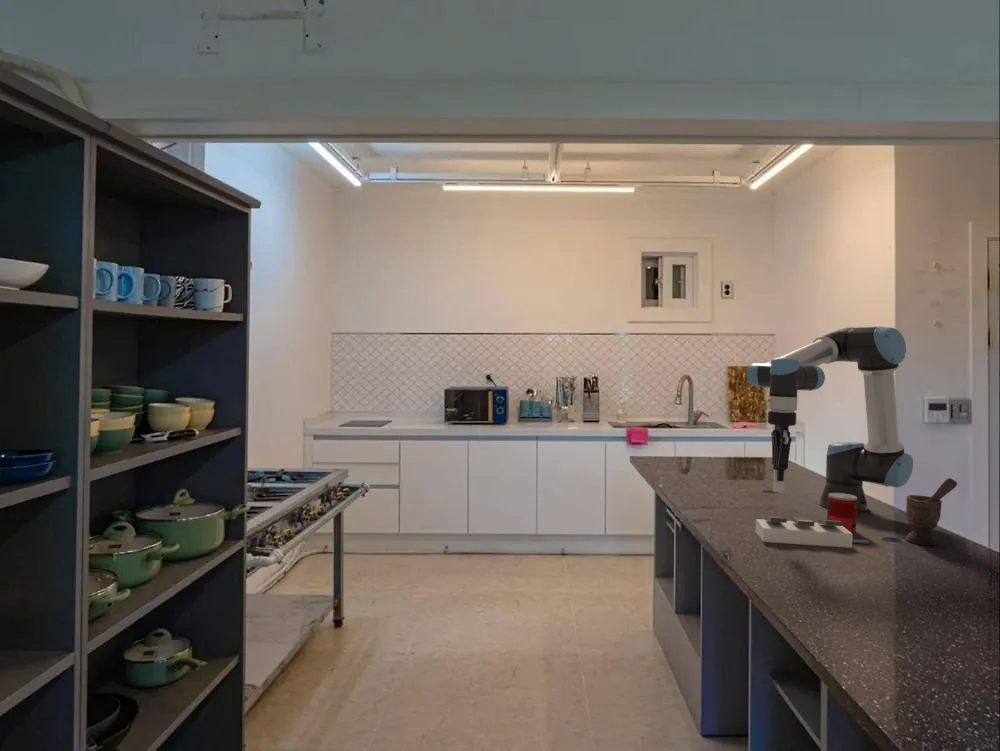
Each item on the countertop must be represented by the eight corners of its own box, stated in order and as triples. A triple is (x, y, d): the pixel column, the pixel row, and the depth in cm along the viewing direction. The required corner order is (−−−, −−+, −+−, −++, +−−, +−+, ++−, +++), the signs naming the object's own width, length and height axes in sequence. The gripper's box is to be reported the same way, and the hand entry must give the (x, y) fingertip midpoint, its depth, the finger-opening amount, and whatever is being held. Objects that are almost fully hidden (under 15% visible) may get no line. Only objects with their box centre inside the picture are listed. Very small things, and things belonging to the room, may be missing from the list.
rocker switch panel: (861, 538, 190) (862, 525, 189) (874, 549, 180) (875, 535, 180) (755, 531, 195) (755, 518, 195) (762, 541, 185) (763, 528, 185)
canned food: (859, 535, 194) (861, 499, 193) (831, 533, 195) (832, 497, 195) (850, 527, 201) (852, 493, 200) (823, 526, 203) (825, 491, 202)
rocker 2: (834, 524, 189) (833, 520, 189) (842, 526, 182) (842, 521, 183) (818, 523, 190) (818, 519, 190) (825, 525, 183) (825, 520, 183)
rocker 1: (780, 521, 192) (780, 516, 192) (786, 522, 185) (786, 518, 185) (765, 520, 193) (765, 515, 193) (770, 521, 186) (770, 517, 186)
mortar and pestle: (945, 540, 189) (948, 474, 188) (956, 549, 181) (960, 480, 180) (900, 536, 192) (904, 471, 191) (909, 545, 184) (913, 477, 183)
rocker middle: (807, 521, 191) (807, 516, 191) (814, 526, 184) (814, 521, 184) (791, 520, 192) (791, 515, 192) (798, 525, 185) (798, 520, 185)
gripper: (763, 408, 192) (759, 485, 193) (774, 412, 179) (770, 495, 180) (790, 409, 190) (786, 487, 191) (802, 413, 177) (798, 497, 179)
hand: (778, 491), depth 186 cm, fingers closed
